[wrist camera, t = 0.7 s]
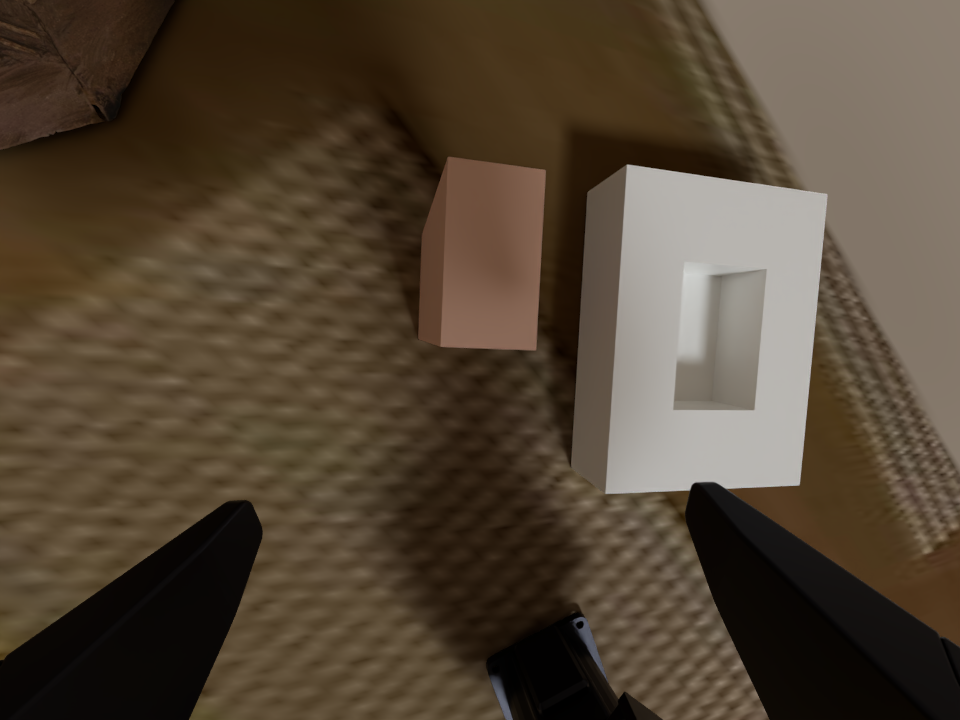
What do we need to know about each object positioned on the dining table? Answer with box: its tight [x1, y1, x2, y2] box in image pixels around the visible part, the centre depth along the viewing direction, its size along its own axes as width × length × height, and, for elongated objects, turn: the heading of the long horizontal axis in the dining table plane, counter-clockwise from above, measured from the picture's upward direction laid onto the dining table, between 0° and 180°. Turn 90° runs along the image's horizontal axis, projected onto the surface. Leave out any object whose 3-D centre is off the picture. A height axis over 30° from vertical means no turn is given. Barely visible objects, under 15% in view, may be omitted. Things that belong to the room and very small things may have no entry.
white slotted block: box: [571, 165, 827, 494], centre depth 23 cm, size 16×12×4 cm
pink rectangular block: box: [418, 157, 546, 350], centre depth 17 cm, size 6×3×10 cm, turn 178°
